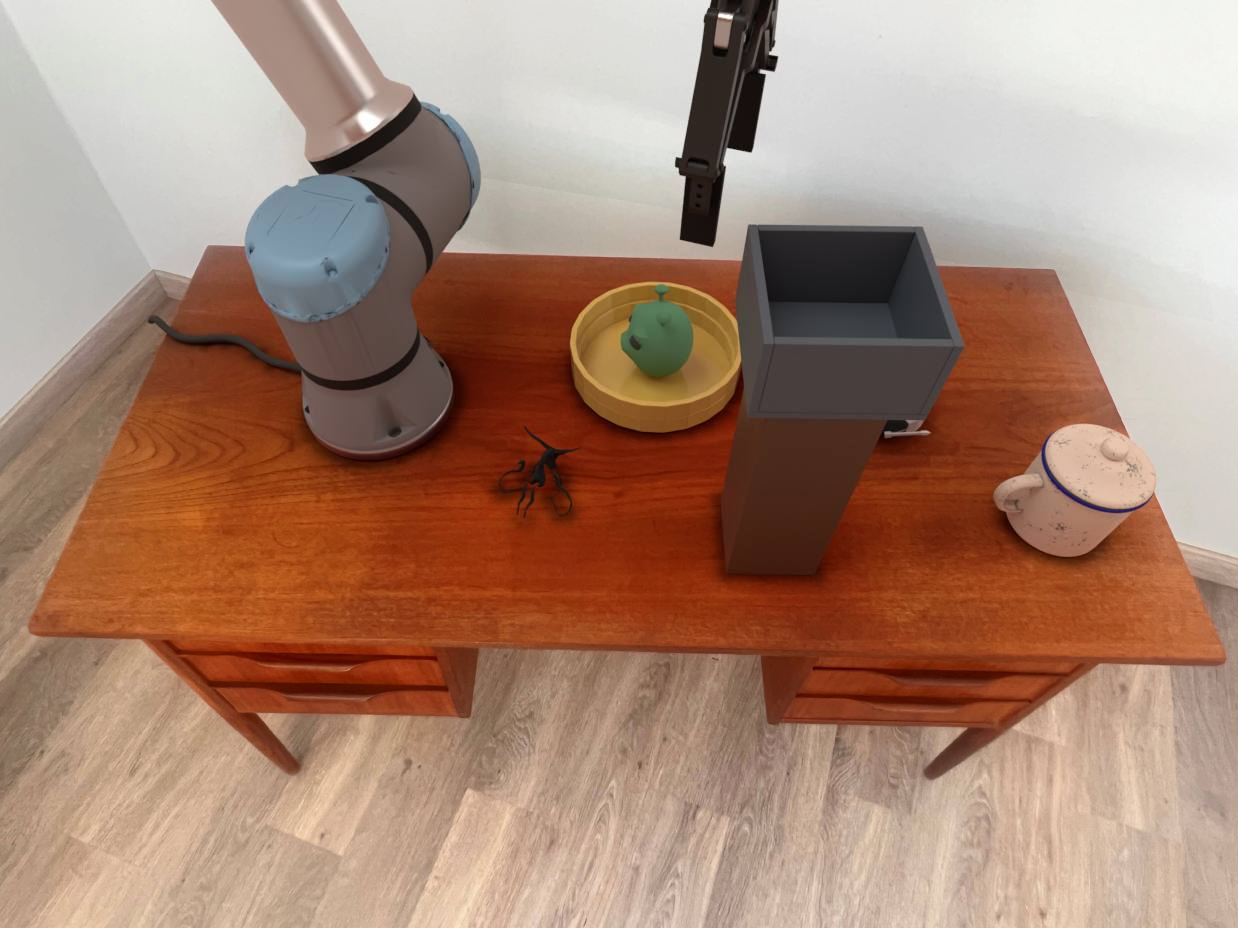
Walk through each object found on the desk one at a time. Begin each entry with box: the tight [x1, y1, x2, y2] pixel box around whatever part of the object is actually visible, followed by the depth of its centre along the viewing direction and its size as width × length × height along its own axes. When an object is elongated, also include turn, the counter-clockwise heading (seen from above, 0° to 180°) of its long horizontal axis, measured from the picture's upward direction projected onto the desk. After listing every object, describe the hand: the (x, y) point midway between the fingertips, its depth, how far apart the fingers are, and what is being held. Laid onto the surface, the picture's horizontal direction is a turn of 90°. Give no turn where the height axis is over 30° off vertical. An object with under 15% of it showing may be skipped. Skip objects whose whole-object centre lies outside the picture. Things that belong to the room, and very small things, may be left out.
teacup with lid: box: [992, 423, 1157, 558], centre depth 66 cm, size 12×9×12 cm
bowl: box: [569, 281, 742, 434], centre depth 80 cm, size 18×18×4 cm
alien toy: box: [620, 284, 694, 377], centre depth 77 cm, size 7×8×10 cm
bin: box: [720, 223, 966, 576], centre depth 57 cm, size 11×11×31 cm
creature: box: [498, 425, 582, 519], centre depth 70 cm, size 8×5×8 cm
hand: (718, 192), depth 62 cm, fingers open, 13 cm apart
